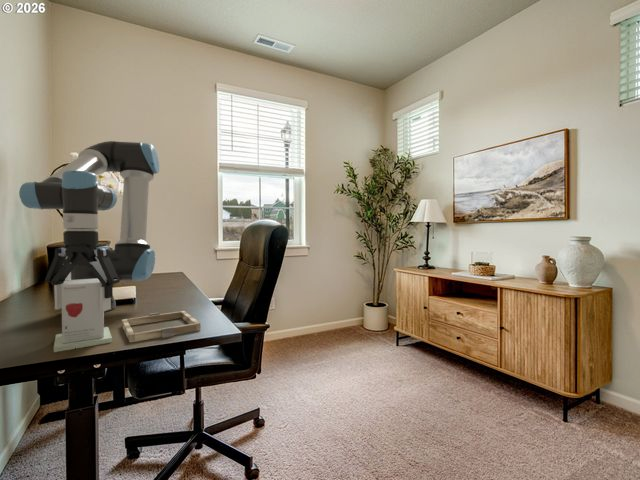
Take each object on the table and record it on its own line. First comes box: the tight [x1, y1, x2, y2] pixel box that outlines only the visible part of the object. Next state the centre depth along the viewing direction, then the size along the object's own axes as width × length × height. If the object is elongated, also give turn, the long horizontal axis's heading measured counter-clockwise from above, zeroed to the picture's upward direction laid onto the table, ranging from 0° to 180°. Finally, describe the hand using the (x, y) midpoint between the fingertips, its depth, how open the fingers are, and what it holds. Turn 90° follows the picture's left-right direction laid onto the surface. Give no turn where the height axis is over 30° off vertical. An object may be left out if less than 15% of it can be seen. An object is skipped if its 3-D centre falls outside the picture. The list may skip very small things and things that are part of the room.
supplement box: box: [61, 278, 105, 343], centre depth 88 cm, size 9×9×15 cm
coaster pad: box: [53, 326, 113, 353], centre depth 89 cm, size 12×12×1 cm
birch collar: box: [121, 310, 201, 343], centre depth 100 cm, size 20×18×2 cm
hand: (83, 309), depth 88 cm, fingers open, 13 cm apart
